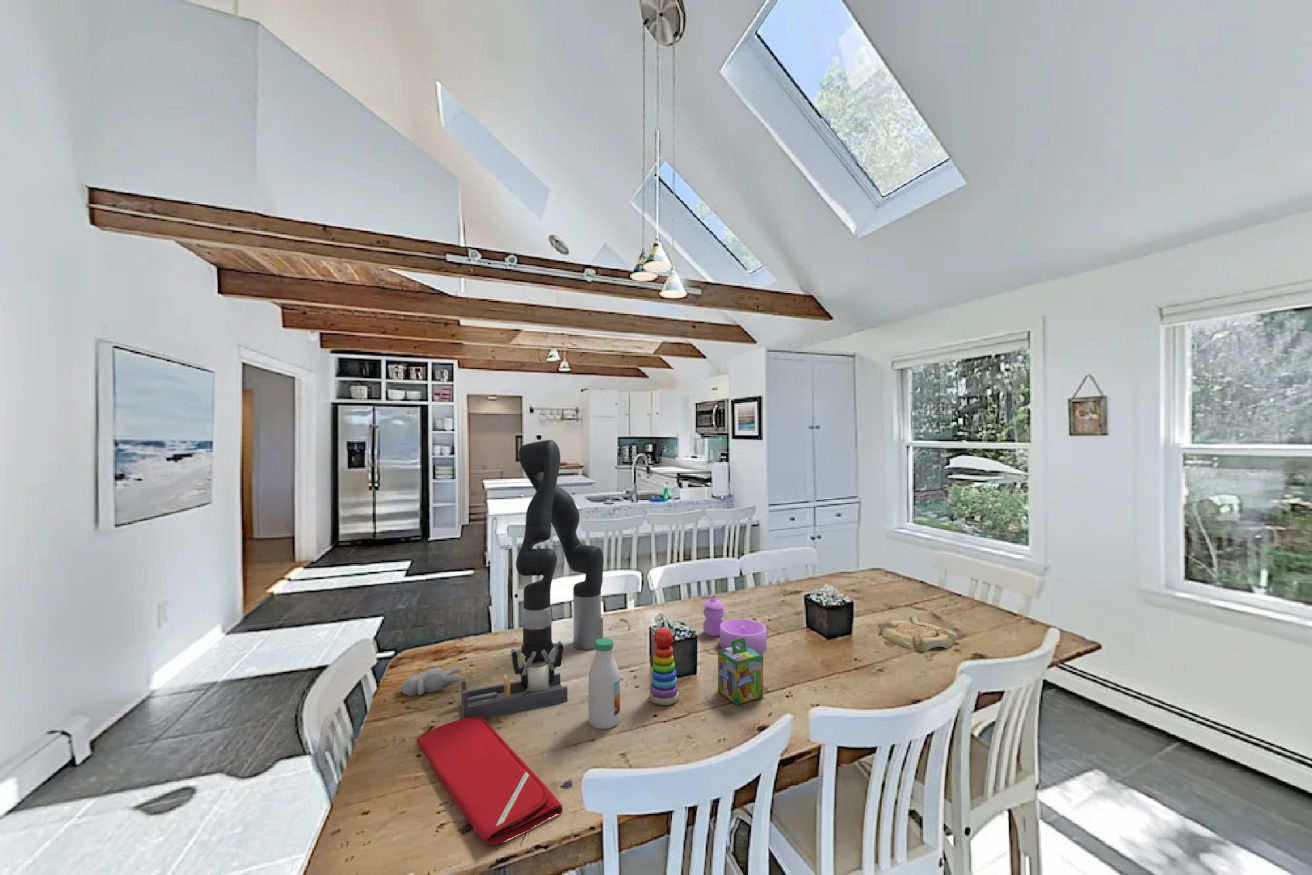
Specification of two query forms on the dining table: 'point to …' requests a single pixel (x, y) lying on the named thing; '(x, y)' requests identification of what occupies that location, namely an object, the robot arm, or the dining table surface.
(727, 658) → the chalk box
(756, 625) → the container set
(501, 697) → the pusher
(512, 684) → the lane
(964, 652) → the dining table surface
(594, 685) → the milk bottle
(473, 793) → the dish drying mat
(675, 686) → the stacking toy
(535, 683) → the spice jar
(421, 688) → the bunny figurine
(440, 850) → the dining table surface
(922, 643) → the ashtray
